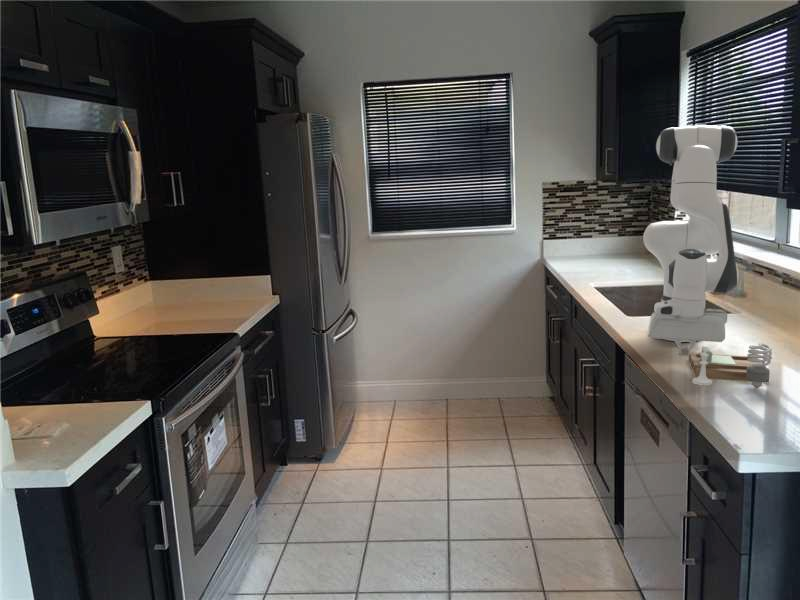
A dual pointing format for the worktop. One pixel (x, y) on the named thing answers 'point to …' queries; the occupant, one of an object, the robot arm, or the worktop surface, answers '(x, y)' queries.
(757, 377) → the light bulb
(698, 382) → the chess piece
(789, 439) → the worktop surface
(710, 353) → the cover
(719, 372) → the board
